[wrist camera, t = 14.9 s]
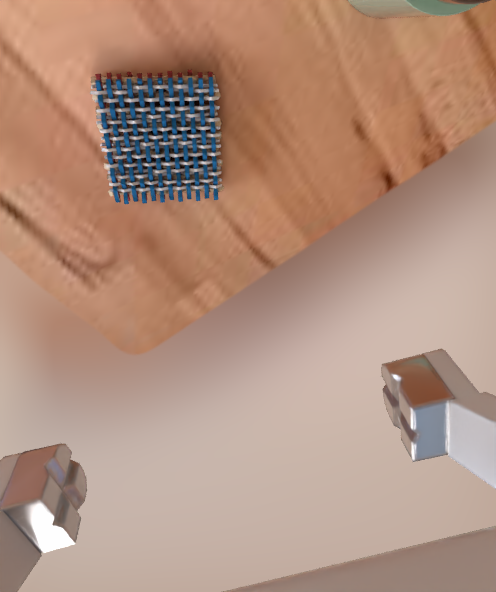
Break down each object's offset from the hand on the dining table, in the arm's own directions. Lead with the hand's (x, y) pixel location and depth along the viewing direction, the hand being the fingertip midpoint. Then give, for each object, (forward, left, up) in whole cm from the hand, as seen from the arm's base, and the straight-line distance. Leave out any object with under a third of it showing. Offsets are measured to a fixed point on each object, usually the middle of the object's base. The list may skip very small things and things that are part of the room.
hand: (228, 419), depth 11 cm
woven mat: (-1, -3, -33) cm, 33 cm away
